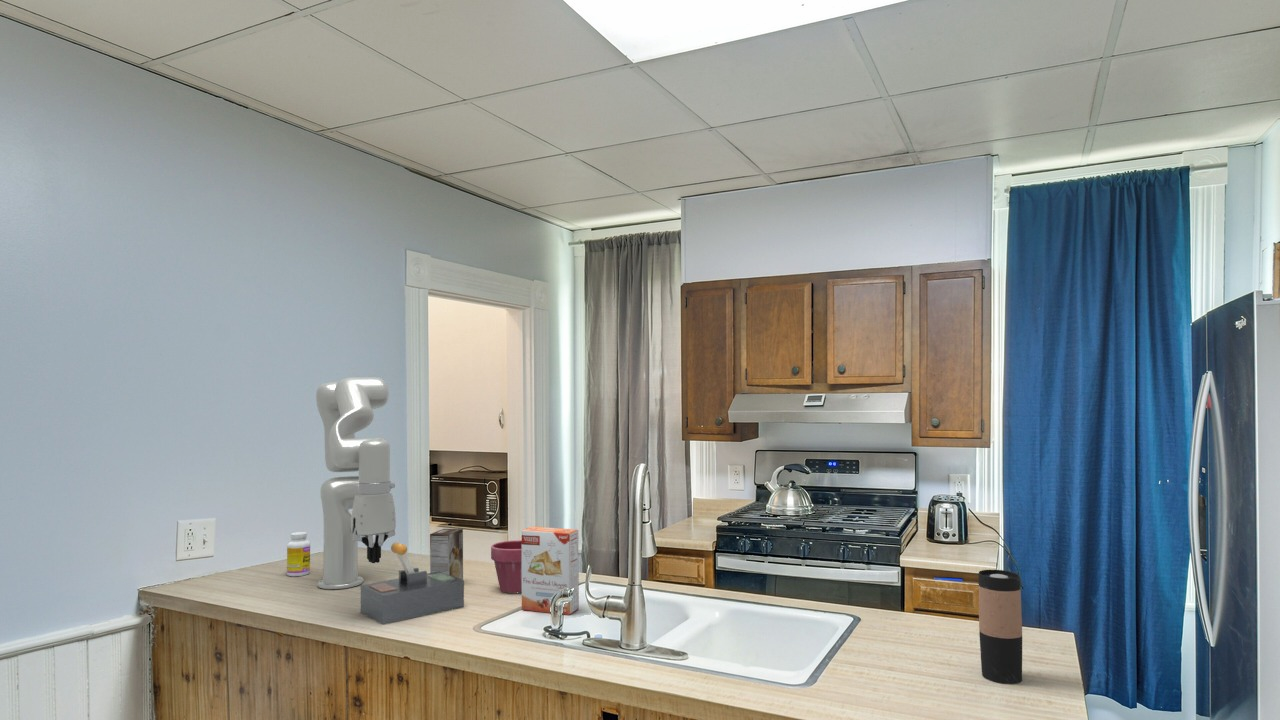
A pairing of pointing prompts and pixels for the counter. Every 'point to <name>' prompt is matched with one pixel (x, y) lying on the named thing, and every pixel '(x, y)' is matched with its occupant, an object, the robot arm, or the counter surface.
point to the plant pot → (508, 565)
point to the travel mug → (1000, 626)
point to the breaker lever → (402, 556)
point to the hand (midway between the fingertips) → (374, 561)
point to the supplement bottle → (298, 555)
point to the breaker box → (411, 596)
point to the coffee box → (447, 552)
